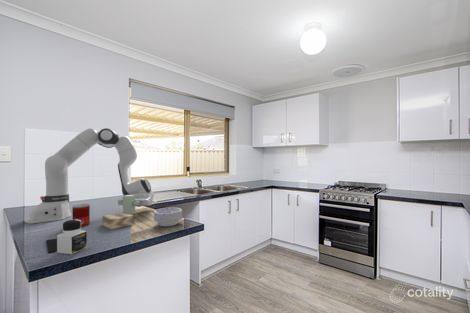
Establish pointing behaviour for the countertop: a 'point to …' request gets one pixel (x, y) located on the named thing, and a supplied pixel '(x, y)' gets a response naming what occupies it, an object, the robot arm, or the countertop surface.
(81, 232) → the medicine bottle
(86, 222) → the canned food
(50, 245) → the cell phone
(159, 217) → the paper bowls
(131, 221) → the wooden base
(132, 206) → the sage green post
